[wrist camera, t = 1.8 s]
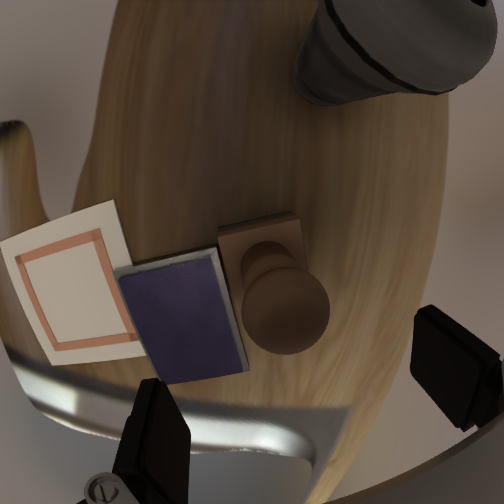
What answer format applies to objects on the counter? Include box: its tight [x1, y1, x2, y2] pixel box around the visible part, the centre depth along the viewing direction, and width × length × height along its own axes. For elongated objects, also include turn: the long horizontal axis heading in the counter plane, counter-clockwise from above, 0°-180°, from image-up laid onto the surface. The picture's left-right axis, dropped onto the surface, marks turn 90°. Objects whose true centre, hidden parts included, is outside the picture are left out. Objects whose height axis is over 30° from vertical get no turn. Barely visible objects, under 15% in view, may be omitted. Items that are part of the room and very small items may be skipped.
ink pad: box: [112, 244, 250, 385], centre depth 22 cm, size 11×8×2 cm
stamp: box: [217, 211, 330, 355], centre depth 17 cm, size 5×5×11 cm
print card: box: [0, 199, 146, 365], centre depth 21 cm, size 13×13×1 cm
